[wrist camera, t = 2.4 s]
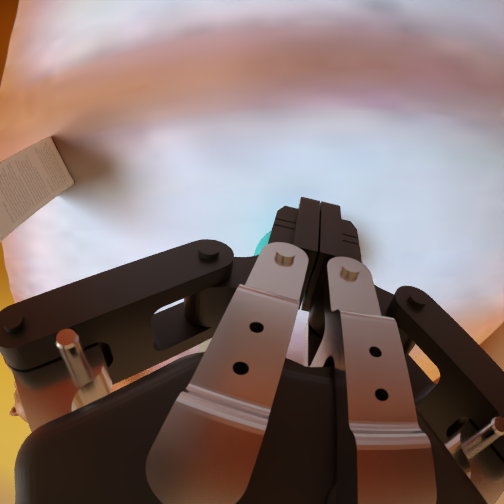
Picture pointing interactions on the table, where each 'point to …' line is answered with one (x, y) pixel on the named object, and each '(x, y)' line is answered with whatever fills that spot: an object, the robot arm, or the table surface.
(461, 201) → the table surface
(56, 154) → the skincare box
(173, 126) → the table surface
